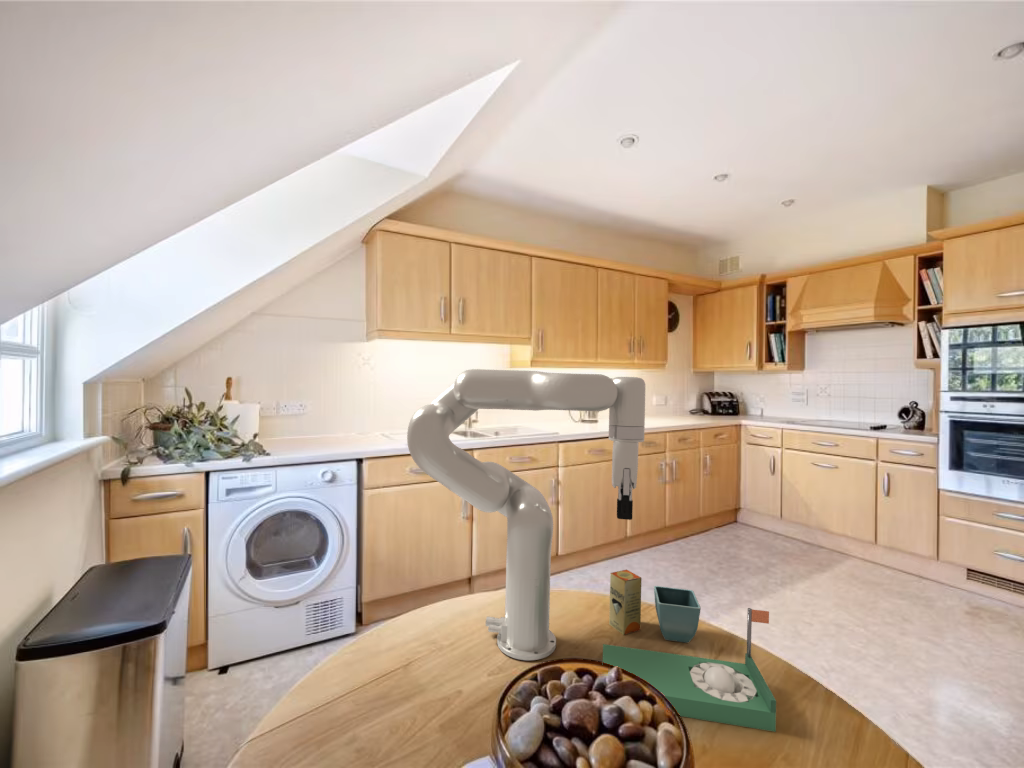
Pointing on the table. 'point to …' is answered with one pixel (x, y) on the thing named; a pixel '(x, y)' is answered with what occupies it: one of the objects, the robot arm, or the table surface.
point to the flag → (754, 617)
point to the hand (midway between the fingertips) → (624, 518)
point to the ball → (719, 680)
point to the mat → (701, 686)
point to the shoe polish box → (625, 601)
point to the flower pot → (677, 613)
